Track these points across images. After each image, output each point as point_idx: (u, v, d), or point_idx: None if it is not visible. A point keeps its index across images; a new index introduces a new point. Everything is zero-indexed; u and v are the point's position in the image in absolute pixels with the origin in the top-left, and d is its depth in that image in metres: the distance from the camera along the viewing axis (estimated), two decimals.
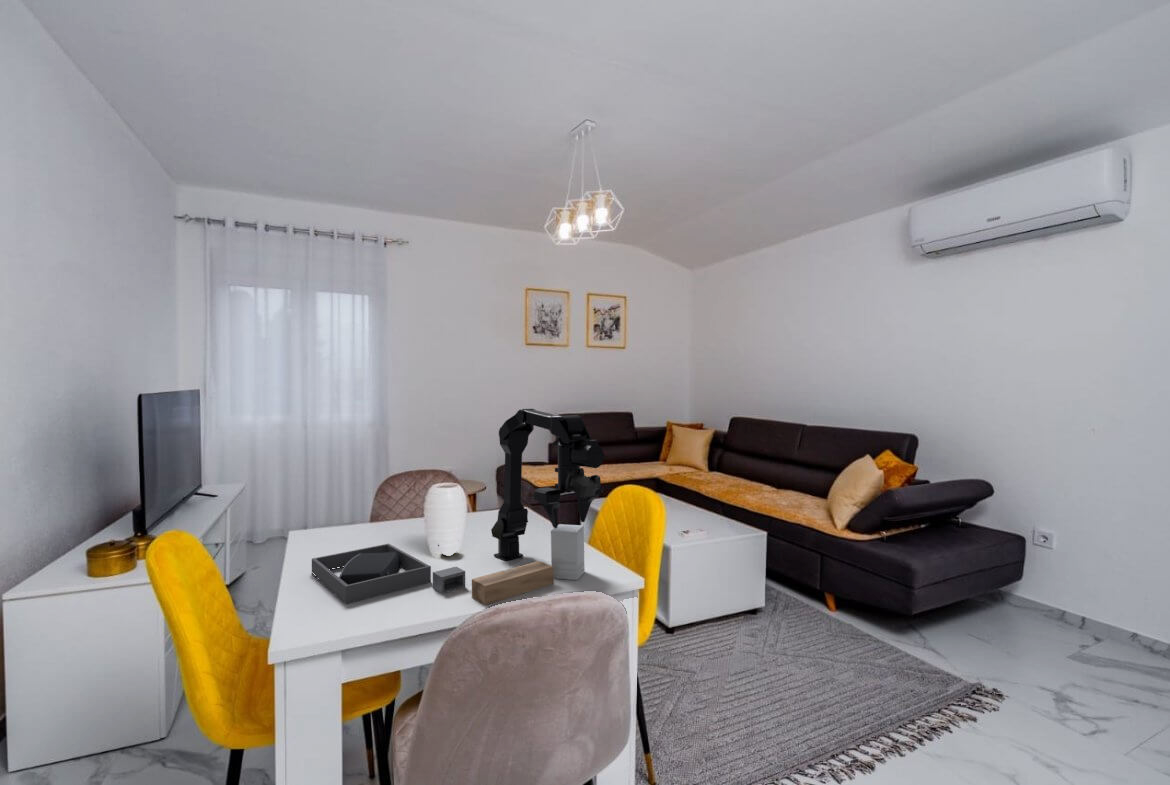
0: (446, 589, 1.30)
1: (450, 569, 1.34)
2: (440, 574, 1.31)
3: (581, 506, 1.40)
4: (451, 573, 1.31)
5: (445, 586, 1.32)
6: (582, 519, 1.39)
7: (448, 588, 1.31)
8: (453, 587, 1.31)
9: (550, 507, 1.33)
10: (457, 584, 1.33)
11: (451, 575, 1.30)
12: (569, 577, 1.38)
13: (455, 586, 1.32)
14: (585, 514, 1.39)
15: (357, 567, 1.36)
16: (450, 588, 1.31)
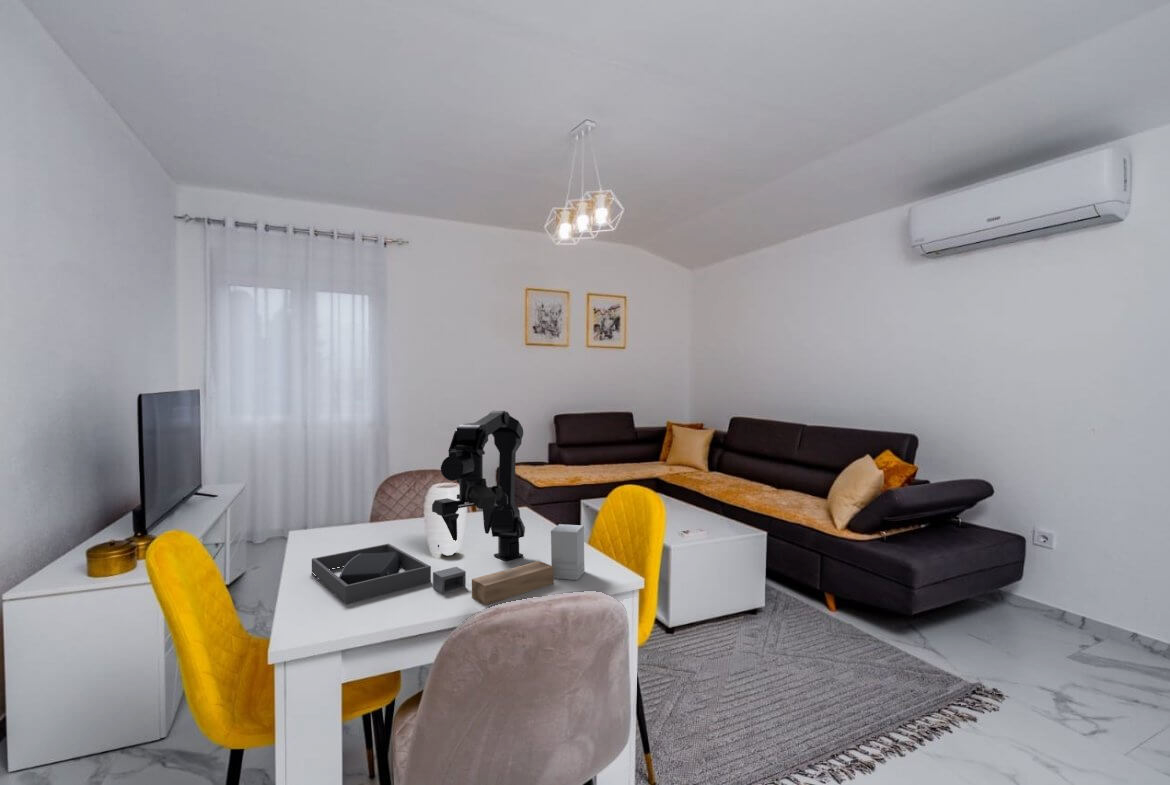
0: (446, 589, 1.30)
1: (450, 569, 1.34)
2: (440, 574, 1.31)
3: (485, 517, 1.37)
4: (451, 573, 1.31)
5: (445, 586, 1.32)
6: (486, 531, 1.36)
7: (448, 588, 1.31)
8: (453, 587, 1.31)
9: (449, 519, 1.29)
10: (457, 584, 1.33)
11: (451, 575, 1.30)
12: (569, 577, 1.38)
13: (455, 586, 1.32)
14: (489, 525, 1.36)
15: (357, 567, 1.36)
16: (450, 588, 1.31)
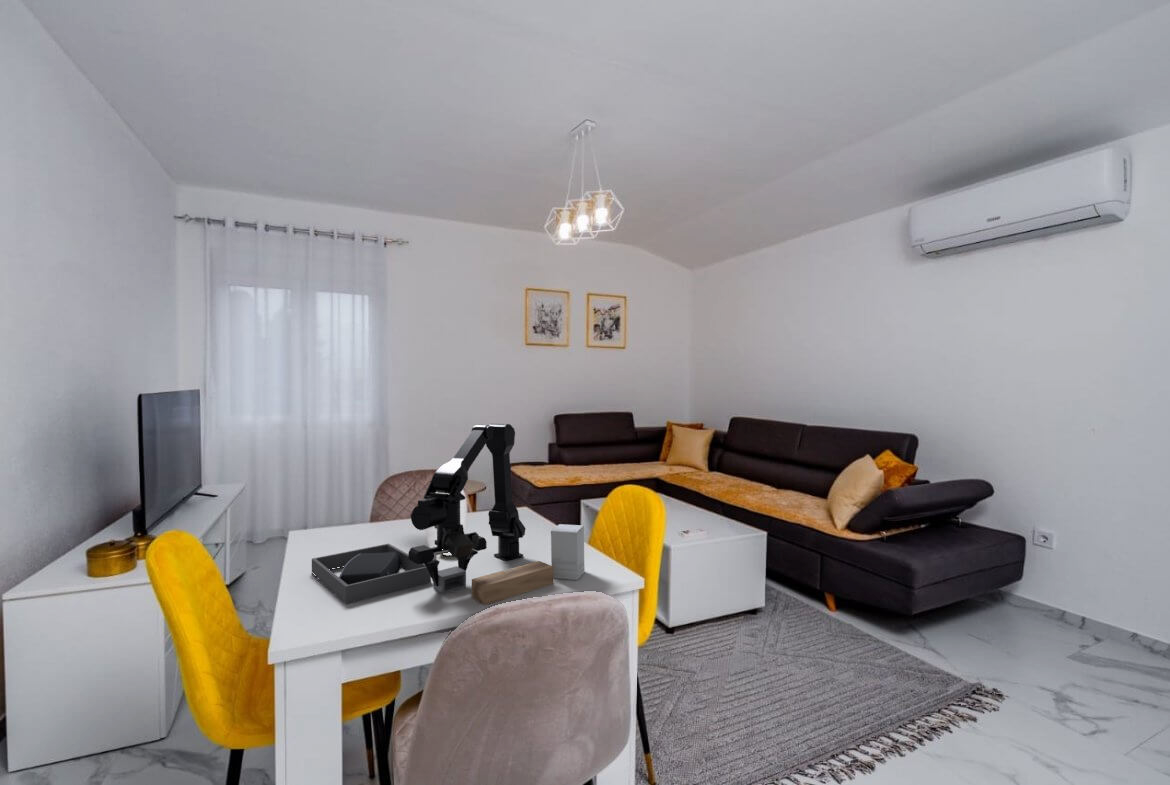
0: (447, 589, 1.30)
1: (451, 569, 1.34)
2: (440, 573, 1.30)
3: (460, 563, 1.36)
4: (452, 573, 1.31)
5: (446, 586, 1.32)
6: None
7: (449, 588, 1.31)
8: (454, 587, 1.31)
9: (431, 565, 1.30)
10: (458, 584, 1.33)
11: (452, 575, 1.30)
12: (569, 577, 1.38)
13: (456, 586, 1.32)
14: None
15: (357, 567, 1.36)
16: (451, 588, 1.31)
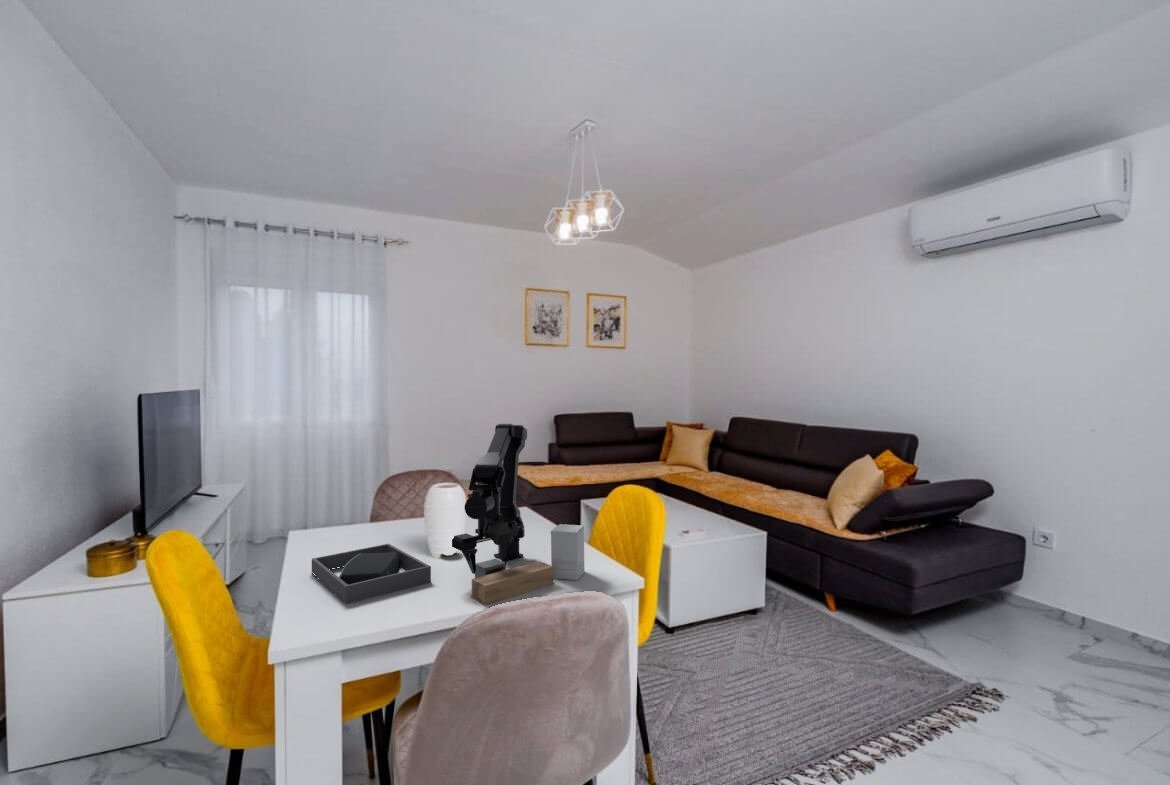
0: None
1: (491, 561, 1.40)
2: (482, 565, 1.37)
3: (503, 550, 1.43)
4: (493, 564, 1.37)
5: None
6: None
7: None
8: None
9: (468, 553, 1.36)
10: None
11: (493, 566, 1.37)
12: (569, 577, 1.38)
13: None
14: (506, 558, 1.42)
15: (357, 567, 1.36)
16: None
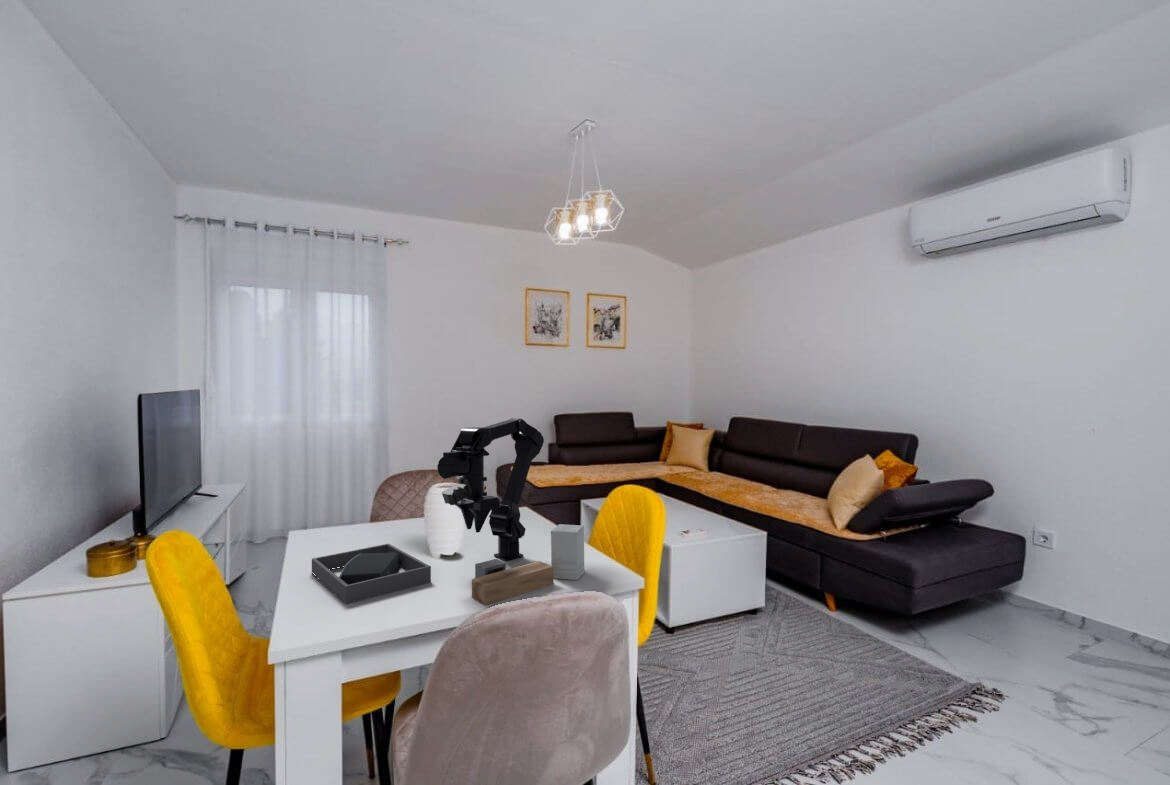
0: None
1: (491, 561, 1.40)
2: (482, 565, 1.37)
3: None
4: (493, 565, 1.37)
5: None
6: None
7: None
8: None
9: None
10: None
11: (493, 567, 1.36)
12: (569, 577, 1.38)
13: None
14: (475, 525, 1.42)
15: (357, 567, 1.36)
16: None
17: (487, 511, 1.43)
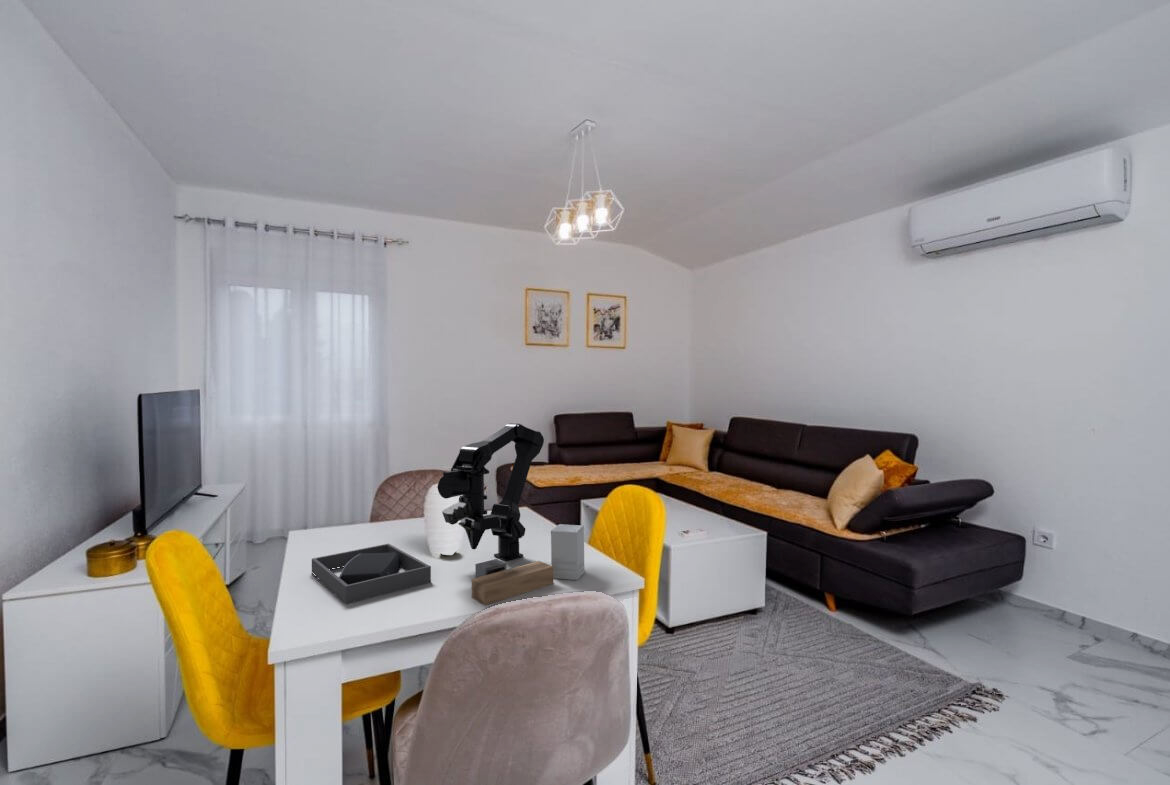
0: None
1: (491, 561, 1.40)
2: (483, 565, 1.37)
3: None
4: (493, 565, 1.37)
5: None
6: None
7: None
8: None
9: None
10: None
11: (494, 567, 1.36)
12: (569, 577, 1.38)
13: None
14: (471, 542, 1.44)
15: (357, 567, 1.36)
16: None
17: None
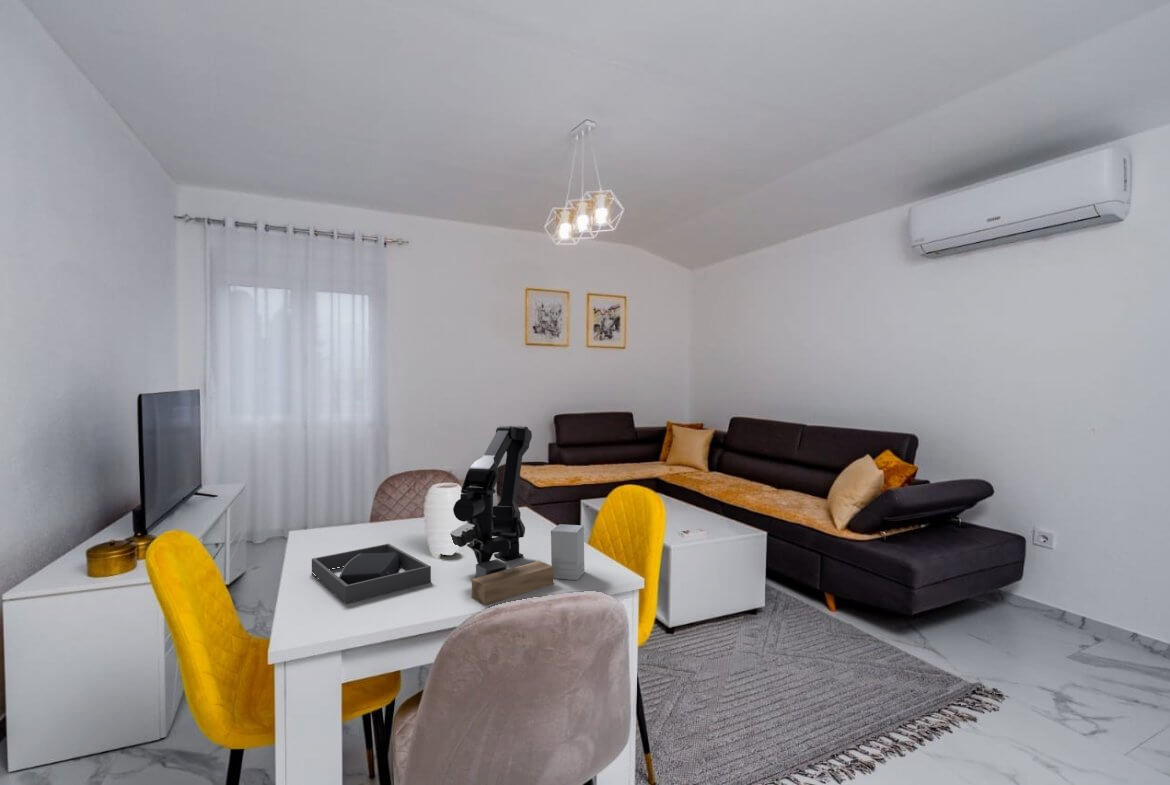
0: None
1: (492, 561, 1.40)
2: (483, 566, 1.36)
3: None
4: (494, 565, 1.37)
5: None
6: None
7: None
8: None
9: None
10: None
11: (494, 567, 1.36)
12: (569, 577, 1.38)
13: None
14: None
15: (357, 567, 1.36)
16: None
17: None
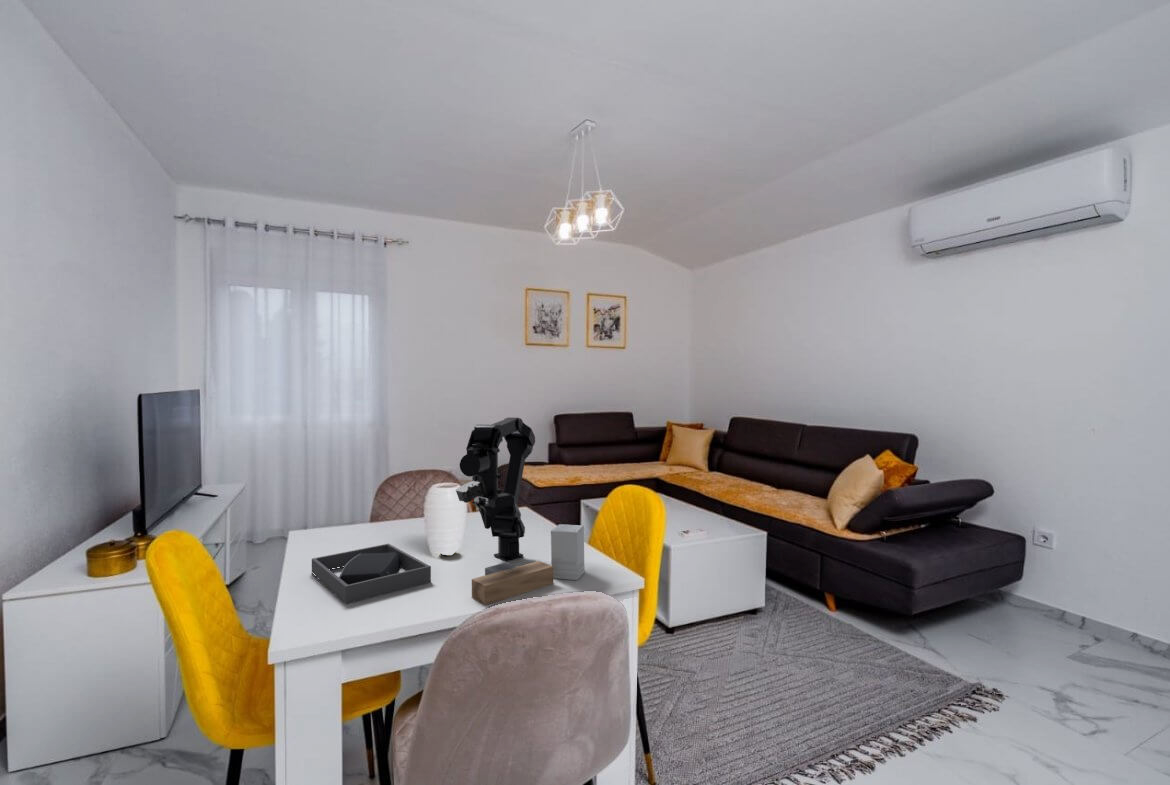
0: None
1: (501, 565, 1.37)
2: (493, 569, 1.34)
3: None
4: (503, 569, 1.34)
5: None
6: None
7: None
8: None
9: None
10: None
11: None
12: (569, 577, 1.38)
13: None
14: (485, 521, 1.42)
15: (357, 567, 1.36)
16: None
17: (497, 507, 1.43)
